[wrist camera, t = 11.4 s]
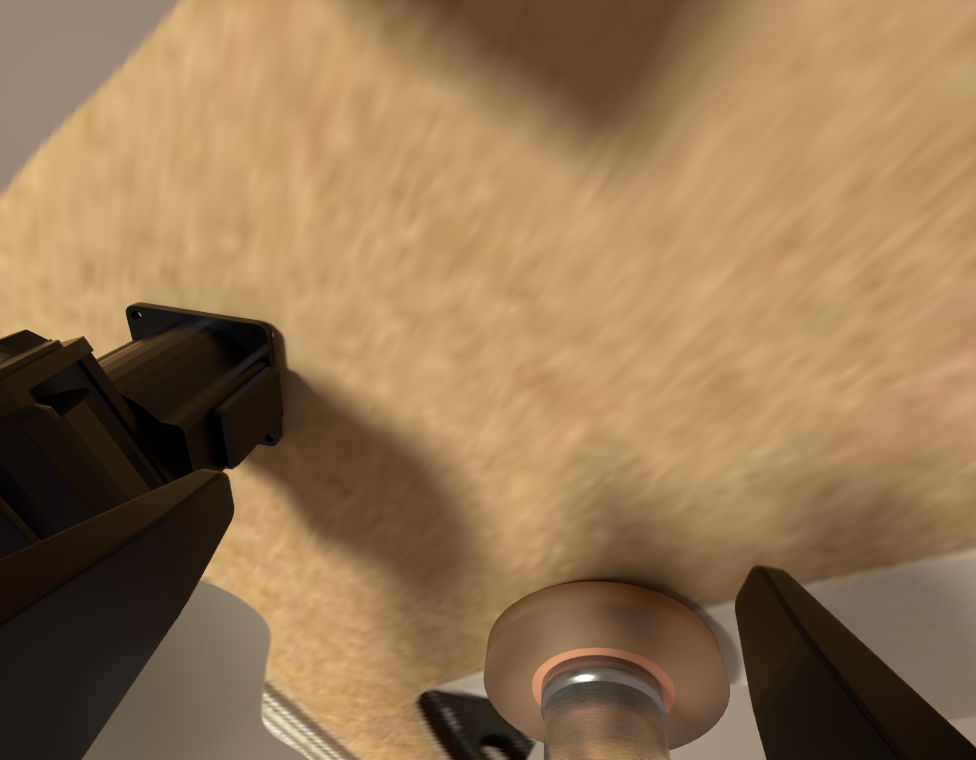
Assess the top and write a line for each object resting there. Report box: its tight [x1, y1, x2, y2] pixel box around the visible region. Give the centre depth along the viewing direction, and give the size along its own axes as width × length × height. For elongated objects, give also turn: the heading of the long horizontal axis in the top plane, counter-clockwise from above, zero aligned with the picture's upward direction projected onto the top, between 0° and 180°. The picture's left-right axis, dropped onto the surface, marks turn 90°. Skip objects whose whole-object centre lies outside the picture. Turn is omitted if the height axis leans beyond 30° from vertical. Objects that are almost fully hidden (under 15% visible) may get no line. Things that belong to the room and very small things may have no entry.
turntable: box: [484, 581, 730, 750], centre depth 28 cm, size 13×13×3 cm
